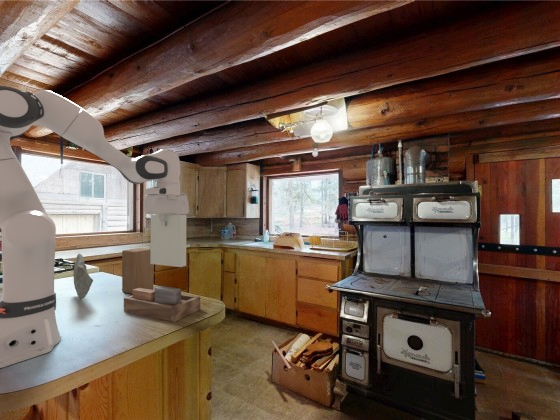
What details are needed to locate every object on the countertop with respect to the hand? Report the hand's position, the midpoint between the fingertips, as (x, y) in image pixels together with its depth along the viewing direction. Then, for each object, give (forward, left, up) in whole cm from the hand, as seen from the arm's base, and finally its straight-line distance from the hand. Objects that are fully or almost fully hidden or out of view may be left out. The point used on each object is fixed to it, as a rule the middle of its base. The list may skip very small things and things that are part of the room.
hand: (168, 225), depth 112 cm
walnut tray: (-3, 0, -33) cm, 33 cm away
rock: (-8, +43, -33) cm, 55 cm away
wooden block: (+12, +32, -33) cm, 48 cm away
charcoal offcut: (-6, -6, -33) cm, 34 cm away
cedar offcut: (-6, +6, -33) cm, 34 cm away
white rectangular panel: (0, 0, -16) cm, 16 cm away
